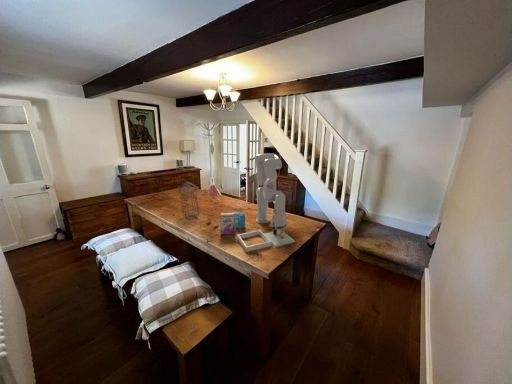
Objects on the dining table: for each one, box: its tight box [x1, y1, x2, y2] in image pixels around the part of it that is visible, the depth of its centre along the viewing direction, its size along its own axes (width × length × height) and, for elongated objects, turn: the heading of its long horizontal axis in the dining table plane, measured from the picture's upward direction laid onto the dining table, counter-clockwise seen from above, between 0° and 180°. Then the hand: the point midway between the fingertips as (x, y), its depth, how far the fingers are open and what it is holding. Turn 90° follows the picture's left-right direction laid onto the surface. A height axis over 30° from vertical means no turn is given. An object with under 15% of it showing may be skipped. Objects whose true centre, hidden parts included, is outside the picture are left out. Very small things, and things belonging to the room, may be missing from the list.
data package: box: [232, 211, 246, 229], centre depth 165 cm, size 12×4×12 cm, turn 57°
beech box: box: [272, 225, 285, 240], centre depth 145 cm, size 5×8×8 cm, turn 24°
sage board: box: [263, 231, 295, 248], centre depth 147 cm, size 18×16×2 cm
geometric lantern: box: [176, 181, 200, 221], centre depth 180 cm, size 16×16×35 cm
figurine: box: [203, 184, 222, 228], centre depth 168 cm, size 15×26×35 cm, turn 45°
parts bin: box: [236, 229, 272, 253], centre depth 142 cm, size 19×19×4 cm
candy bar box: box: [219, 212, 236, 235], centre depth 153 cm, size 11×5×16 cm, turn 92°
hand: (278, 233), depth 146 cm, fingers open, 5 cm apart
